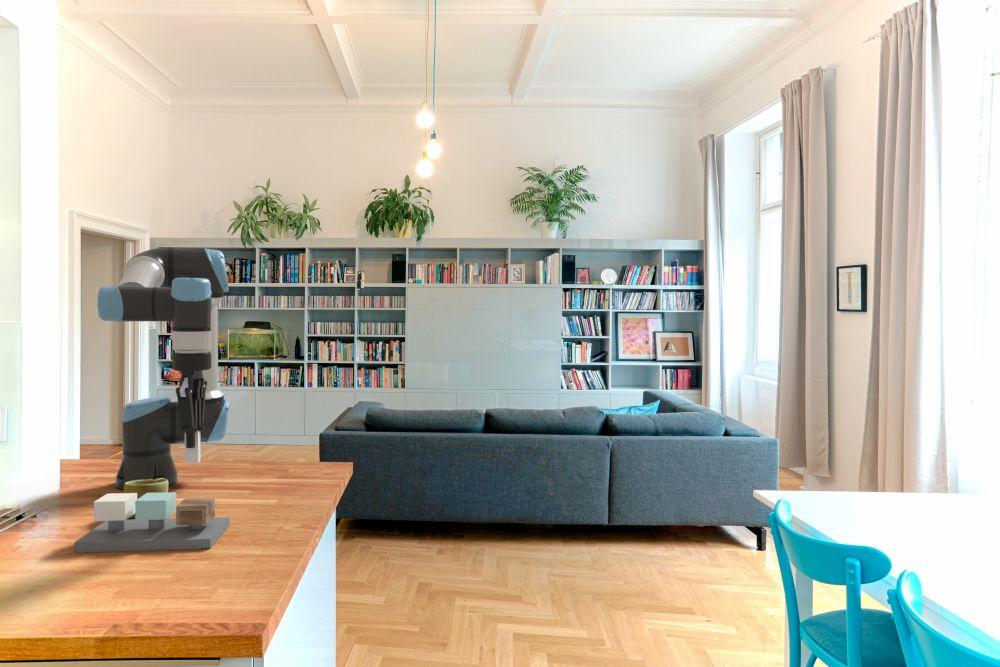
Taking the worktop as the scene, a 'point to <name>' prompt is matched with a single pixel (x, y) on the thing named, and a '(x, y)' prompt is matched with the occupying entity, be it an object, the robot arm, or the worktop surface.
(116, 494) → the ivory key
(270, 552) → the worktop surface
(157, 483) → the mug
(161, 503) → the teal key
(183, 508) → the walnut key
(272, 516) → the worktop surface
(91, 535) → the console
